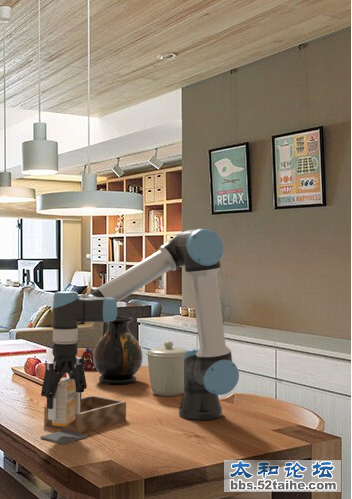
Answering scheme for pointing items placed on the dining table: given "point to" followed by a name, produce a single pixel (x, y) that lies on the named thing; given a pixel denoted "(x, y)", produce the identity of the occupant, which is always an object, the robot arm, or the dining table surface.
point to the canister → (166, 369)
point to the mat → (64, 436)
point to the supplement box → (65, 402)
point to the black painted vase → (118, 354)
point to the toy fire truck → (88, 358)
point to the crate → (93, 414)
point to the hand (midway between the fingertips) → (64, 416)
